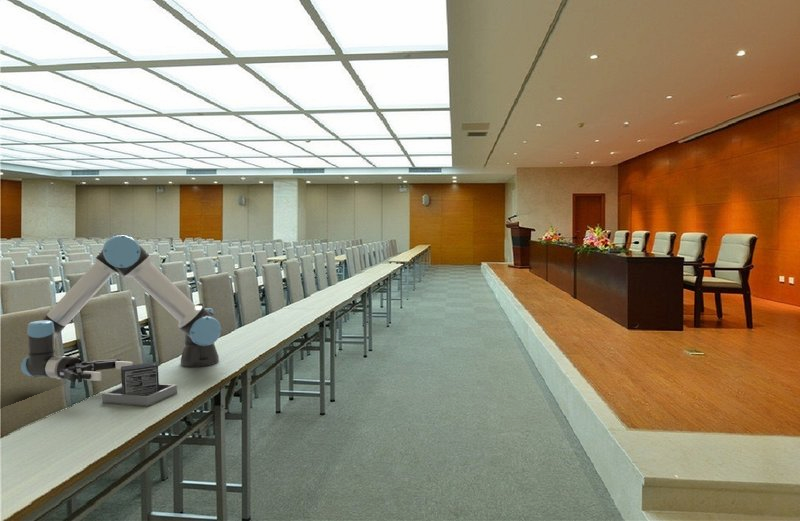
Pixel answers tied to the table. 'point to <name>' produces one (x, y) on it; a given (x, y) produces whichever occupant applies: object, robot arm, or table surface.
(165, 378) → the table surface
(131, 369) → the small box
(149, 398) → the tray
